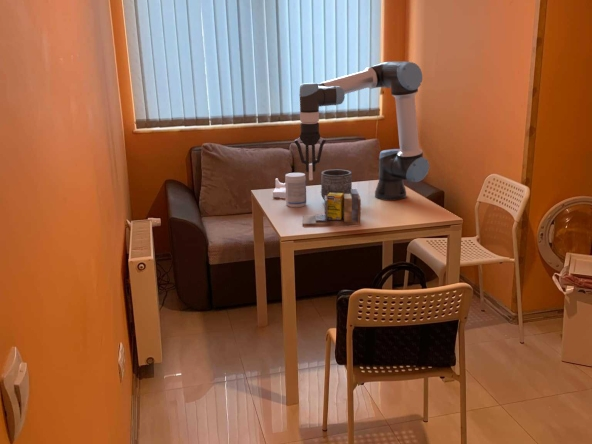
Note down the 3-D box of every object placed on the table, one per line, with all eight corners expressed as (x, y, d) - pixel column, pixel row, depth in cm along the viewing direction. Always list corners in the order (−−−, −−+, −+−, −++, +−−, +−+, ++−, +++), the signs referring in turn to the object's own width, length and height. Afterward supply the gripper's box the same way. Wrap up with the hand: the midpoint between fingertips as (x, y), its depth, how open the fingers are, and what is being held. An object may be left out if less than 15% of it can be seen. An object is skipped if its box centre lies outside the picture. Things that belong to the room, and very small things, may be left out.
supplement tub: (310, 205, 276) (309, 174, 272) (293, 209, 271) (292, 177, 267) (298, 201, 284) (298, 171, 279) (282, 204, 279) (281, 174, 274)
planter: (323, 199, 287) (323, 168, 283) (353, 200, 284) (353, 169, 280) (319, 206, 274) (318, 175, 269) (349, 207, 271) (349, 176, 266)
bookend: (326, 216, 254) (326, 195, 251) (327, 221, 246) (327, 200, 243) (315, 216, 254) (315, 195, 251) (315, 221, 246) (315, 200, 243)
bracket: (276, 192, 302) (276, 178, 300) (290, 192, 301) (289, 178, 299) (273, 199, 290) (272, 184, 288) (287, 199, 289) (286, 184, 287)
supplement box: (326, 220, 248) (326, 195, 245) (330, 216, 253) (329, 192, 250) (340, 221, 246) (340, 196, 243) (343, 217, 252) (343, 192, 249)
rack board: (358, 217, 255) (358, 188, 251) (360, 225, 245) (360, 194, 241) (302, 218, 256) (302, 189, 252) (302, 226, 245) (301, 195, 241)
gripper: (325, 120, 241) (326, 177, 248) (293, 121, 242) (295, 177, 249) (326, 123, 234) (326, 181, 241) (293, 124, 234) (295, 182, 241)
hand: (310, 179), depth 245 cm, fingers closed
